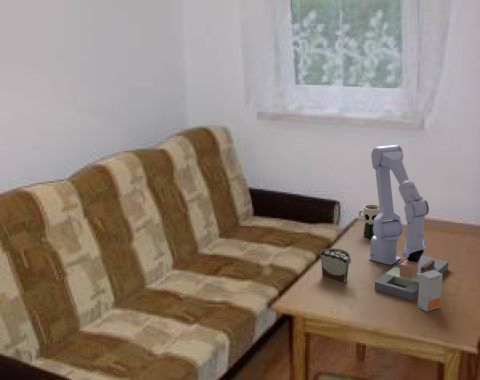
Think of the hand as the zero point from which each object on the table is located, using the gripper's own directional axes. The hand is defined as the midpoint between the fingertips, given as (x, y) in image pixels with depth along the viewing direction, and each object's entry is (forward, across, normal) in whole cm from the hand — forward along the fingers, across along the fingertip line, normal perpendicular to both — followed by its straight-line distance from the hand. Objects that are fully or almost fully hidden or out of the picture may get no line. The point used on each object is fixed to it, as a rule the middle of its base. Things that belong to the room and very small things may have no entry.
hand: (412, 269), depth 223 cm
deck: (+4, 0, 0) cm, 4 cm away
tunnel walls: (+1, +4, 0) cm, 4 cm away
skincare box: (+4, -16, -13) cm, 21 cm away
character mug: (+4, +28, +31) cm, 42 cm away
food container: (+4, -14, +22) cm, 26 cm away
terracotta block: (+1, -4, 0) cm, 4 cm away
